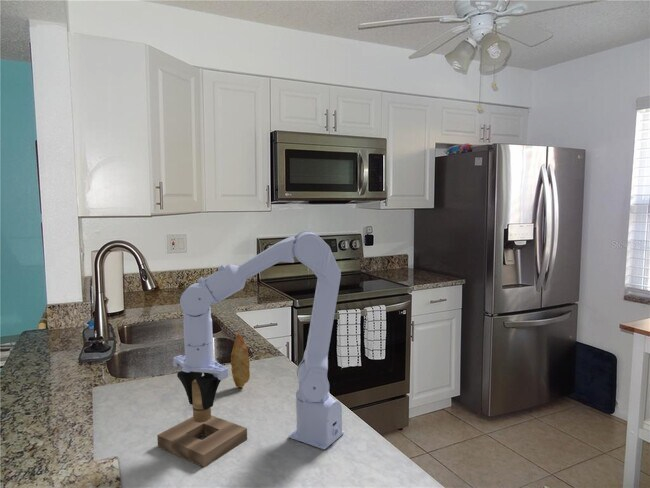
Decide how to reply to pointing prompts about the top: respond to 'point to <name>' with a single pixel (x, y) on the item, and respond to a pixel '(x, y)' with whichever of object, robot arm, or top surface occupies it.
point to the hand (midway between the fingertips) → (201, 405)
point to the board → (202, 451)
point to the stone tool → (240, 362)
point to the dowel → (199, 405)
